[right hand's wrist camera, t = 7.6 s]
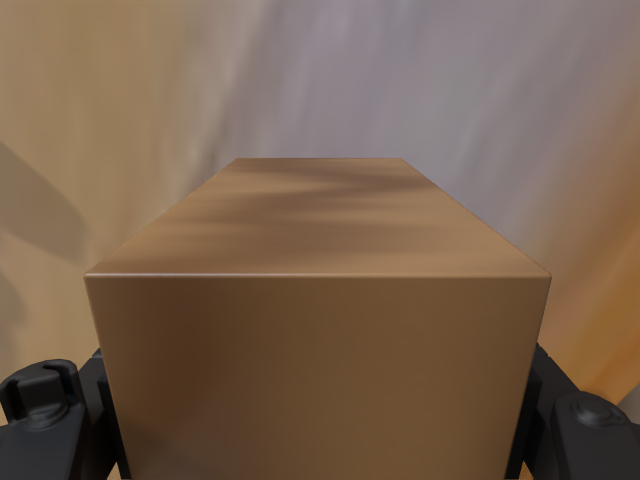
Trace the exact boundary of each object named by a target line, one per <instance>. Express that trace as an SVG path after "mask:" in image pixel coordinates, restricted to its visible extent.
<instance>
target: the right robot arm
mask: <svg viewBox="0 0 640 480" xmlns="http://www.w3.org/2000/svg"><path fill="white" fill-rule="evenodd" d="M0 402H1V405H2V408H3V410H4V413H5V416H6V419H7V421H8V424H7V425H4V426H0V480H107V478H108V476H109V474H110V472H111V470H112V469H113V467H114V465H115V463H116V461H117V465H118V468H119V472H120V476H121V480H132V478H131V474H130V470H129V466H128V462H127V458H126V453H125V449H124V445H123V441H122V437H121V432H120V428H119V424H118V420H117V416H116V411H115V407H114V403H113V399H112V395H111V391H110V386H109V382H108V378H107V374H106V370H105V365H104V361H103V357H102V353H101V349H100V348H98V350H97V351H96V352H95V353H94V354H93V355H92V358H90V359H89V360H88V361H87V362H86V363H85V364H84V366H83V367H82V368H81V369H80V370H79V371H78V370H77V367H76V365H75V364H74V363H73V362H71V361H70V360H64V359H54V360H45V361H42V362H38V363H35V364H32V365H29V366H27V367H25V368H23V369H21V370H19V371H16V372H15V373H14V374H12V375H11V376H9V377H8V378H6V379H5V380H4V381H3V382H2V383H1V384H0ZM523 460H524V462H525V463H526V465H527V467H528V469H529V471H530V472H531V474H532V476H533V480H640V425H639V424H635V423H632V422H631V421H630V420H629V419H628V417H627V416H626V414H625V413H624V412H622V411H621V410H620V409H619V408H618V407H616V406H615V405H614V404H613V403H611V402H609V401H607V400H605V399H603V398H601V397H599V396H597V395H594V394H591V393H588V392H584V391H580V390H579V389H578V388H577V387H576V386H575V385H574V383H573V382H572V381H571V380H570V379H569V378H568V377H567V375H566V374H565V373H564V372H563V371H562V370H561V369H560V367H559V366H558V365H557V364H556V363H555V362H554V361H553V360H552V358H551V357H548V354H547V353H546V352H545V350H544V349H543V348H542V347H539V344H538V342H537V343H536V348H535V352H534V356H533V360H532V365H531V369H530V373H529V377H528V382H527V386H526V390H525V395H524V399H523V403H522V407H521V412H520V416H519V420H518V424H517V429H516V433H515V437H514V442H513V446H512V450H511V454H510V459H509V463H508V467H507V471H506V476H505V480H518V479H519V475H520V471H521V467H522V463H523Z"/></svg>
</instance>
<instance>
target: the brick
mask: <svg viewBox="0 0 640 480" xmlns="http://www.w3.org/2000/svg"><path fill="white" fill-rule="evenodd" d="M551 279H552V277H551V273H549V272H548V271H547V270H545V269H544V268H543V267H542V266H540V265H539V264H538V263H536V262H535V261H534V260H533V259H531V258H530V257H529V256H527V255H526V254H525V253H523V252H522V251H521V250H520V249H518V248H517V247H516V246H514V245H513V244H512V243H511V242H509V241H508V240H507V239H505V238H504V237H503V236H501V235H500V234H499V233H498V232H496V231H495V230H494V229H492V228H491V227H490V226H488V225H487V224H486V223H485V222H483V221H482V220H481V219H479V218H478V217H477V216H476V215H474V214H473V213H472V212H470V211H469V210H468V209H466V208H465V207H464V206H463V205H461V204H460V203H459V202H457V201H456V200H455V199H454V198H452V197H451V196H450V195H448V194H447V193H446V192H444V191H443V190H442V189H441V188H439V187H438V186H437V185H435V184H434V183H433V182H431V181H430V180H429V179H428V178H426V177H425V176H424V175H422V174H421V173H420V172H419V171H417V170H416V169H415V168H413V167H412V166H411V165H409V164H408V163H407V162H406V161H404V160H403V159H402V158H237V159H235V160H234V161H233V162H231V163H230V164H229V165H227V166H226V167H225V168H223V169H222V170H221V171H220V172H218V173H217V174H216V175H214V176H213V177H212V178H210V179H209V180H208V181H206V182H205V183H204V184H202V185H201V186H200V187H198V188H197V189H196V190H194V191H193V192H192V193H190V194H189V195H188V196H186V197H185V198H184V199H183V200H181V201H180V202H179V203H177V204H176V205H175V206H173V207H172V208H171V209H169V210H168V211H167V212H165V213H164V214H163V215H161V216H160V217H159V218H157V219H156V220H155V221H153V222H152V223H151V224H150V225H148V226H147V227H146V228H144V229H143V230H142V231H140V232H139V233H138V234H136V235H135V236H134V237H132V238H131V239H130V240H128V241H127V242H126V243H124V244H123V245H122V246H120V247H119V248H118V249H117V250H115V251H114V252H113V253H111V254H110V255H109V256H107V257H106V258H105V259H103V260H102V261H101V262H99V263H98V264H97V265H95V266H94V267H93V268H91V269H90V270H89V271H87V272H86V273H85V274H84V282H85V286H86V290H87V294H88V298H89V303H90V307H91V311H92V315H93V319H94V324H95V328H96V332H97V336H98V340H99V345H100V349H101V353H102V357H103V361H104V365H105V370H106V374H107V378H108V382H109V386H110V391H111V395H112V399H113V403H114V407H115V411H116V416H117V420H118V424H119V428H120V432H121V437H122V441H123V445H124V449H125V453H126V458H127V462H128V466H129V470H130V474H131V478H132V480H505V476H506V471H507V467H508V463H509V459H510V454H511V450H512V446H513V442H514V437H515V433H516V429H517V424H518V420H519V416H520V412H521V407H522V403H523V399H524V395H525V390H526V386H527V382H528V377H529V373H530V369H531V365H532V360H533V356H534V352H535V348H536V343H537V339H538V335H539V330H540V326H541V322H542V318H543V313H544V309H545V305H546V301H547V296H548V292H549V288H550V283H551Z"/></svg>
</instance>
